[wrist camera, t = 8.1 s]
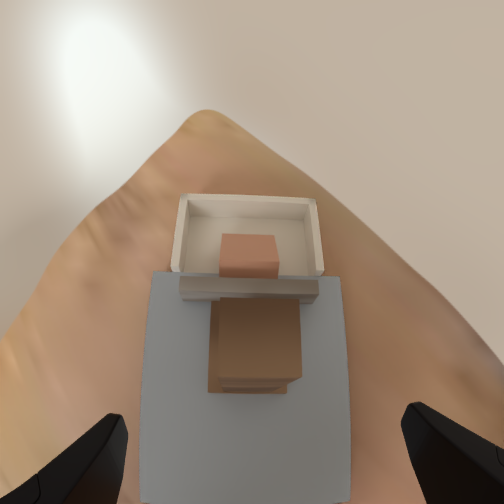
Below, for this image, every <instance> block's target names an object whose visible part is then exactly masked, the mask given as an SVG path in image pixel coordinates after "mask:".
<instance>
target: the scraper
mask: <svg viewBox="0 0 504 504" xmlns="http://www.w3.org/2000/svg"><path fill="white" fill-rule="evenodd" d="M179 293H180V295H181V298H182V300H183V301H197V302H211V315H210V337H209V362H208V393H223V394H286V393H287V384H289V383H291V382H293V381H295V380H297V379H299V378H301V377H302V349H301V325H300V305H299V304H313V302H314V301H315V300H316V298H317V297H318V295H319V283H318V280H302V279H258V278H225V277H197V276H180V280H179Z"/></svg>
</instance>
